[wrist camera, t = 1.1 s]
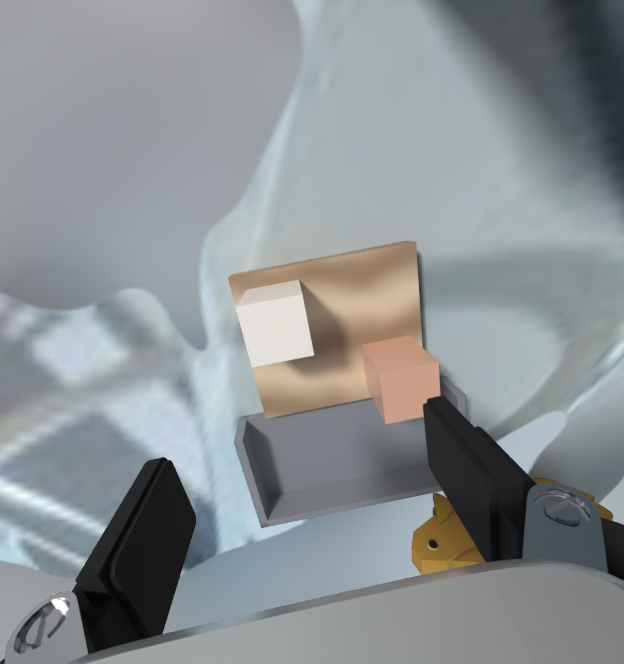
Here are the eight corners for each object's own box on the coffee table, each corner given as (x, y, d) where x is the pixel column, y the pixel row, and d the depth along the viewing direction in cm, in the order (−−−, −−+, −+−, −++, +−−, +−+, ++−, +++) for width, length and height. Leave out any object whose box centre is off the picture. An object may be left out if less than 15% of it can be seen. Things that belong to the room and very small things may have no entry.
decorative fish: (388, 527, 37) (447, 621, 28) (388, 508, 36) (448, 599, 27) (530, 470, 43) (616, 533, 34) (532, 452, 42) (622, 511, 33)
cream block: (246, 289, 26) (235, 307, 20) (298, 279, 26) (302, 294, 21) (258, 338, 28) (251, 367, 22) (308, 329, 28) (314, 355, 22)
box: (239, 417, 32) (233, 442, 28) (445, 376, 33) (465, 395, 29) (263, 496, 36) (261, 527, 32) (448, 458, 36) (467, 485, 33)
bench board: (232, 274, 28) (228, 277, 26) (407, 240, 28) (415, 241, 26) (267, 407, 32) (265, 418, 30) (417, 377, 32) (425, 386, 31)
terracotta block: (361, 344, 29) (379, 374, 23) (408, 335, 29) (438, 362, 23) (366, 387, 30) (385, 424, 24) (412, 378, 30) (441, 413, 24)
